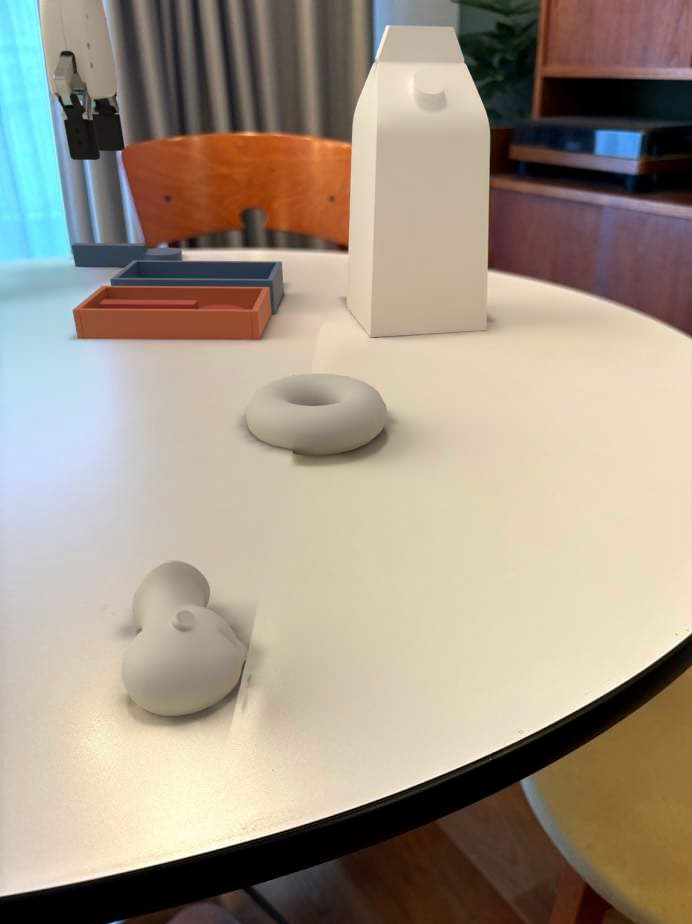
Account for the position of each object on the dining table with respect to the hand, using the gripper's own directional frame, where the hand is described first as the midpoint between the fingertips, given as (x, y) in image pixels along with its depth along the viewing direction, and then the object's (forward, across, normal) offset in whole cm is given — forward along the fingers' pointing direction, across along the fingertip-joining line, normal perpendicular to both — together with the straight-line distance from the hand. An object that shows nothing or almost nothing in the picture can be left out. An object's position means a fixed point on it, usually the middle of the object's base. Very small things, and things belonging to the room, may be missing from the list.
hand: (99, 154), depth 97 cm
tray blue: (+13, +15, +14) cm, 25 cm away
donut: (+13, +52, +29) cm, 61 cm away
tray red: (+13, +27, +14) cm, 33 cm away
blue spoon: (+13, -3, +1) cm, 13 cm away
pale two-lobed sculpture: (+13, +79, +26) cm, 84 cm away
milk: (+14, +21, +37) cm, 45 cm away
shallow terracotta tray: (+13, +27, +14) cm, 33 cm away
